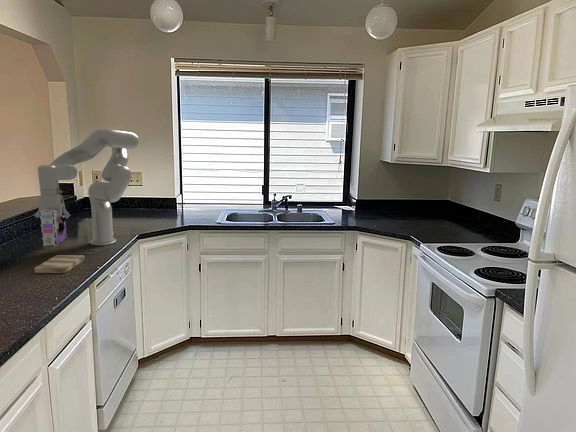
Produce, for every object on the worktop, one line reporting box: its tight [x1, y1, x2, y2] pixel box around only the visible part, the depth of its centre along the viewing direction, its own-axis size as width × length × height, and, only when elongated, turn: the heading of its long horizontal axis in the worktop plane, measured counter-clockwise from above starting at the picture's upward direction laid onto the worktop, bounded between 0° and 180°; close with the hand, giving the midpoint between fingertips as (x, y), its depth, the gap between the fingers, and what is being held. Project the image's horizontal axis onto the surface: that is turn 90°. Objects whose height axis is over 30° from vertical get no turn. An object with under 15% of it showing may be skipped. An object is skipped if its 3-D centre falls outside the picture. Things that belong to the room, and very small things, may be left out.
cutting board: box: [34, 254, 85, 274], centre depth 174 cm, size 18×12×2 cm, turn 3°
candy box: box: [39, 209, 68, 247], centre depth 189 cm, size 14×6×16 cm, turn 9°
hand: (54, 230), depth 189 cm, fingers closed on candy box, 6 cm apart
